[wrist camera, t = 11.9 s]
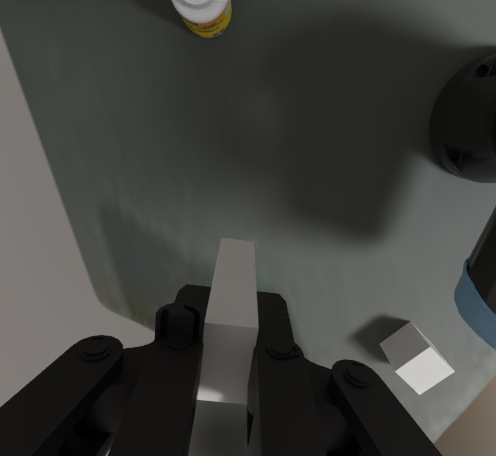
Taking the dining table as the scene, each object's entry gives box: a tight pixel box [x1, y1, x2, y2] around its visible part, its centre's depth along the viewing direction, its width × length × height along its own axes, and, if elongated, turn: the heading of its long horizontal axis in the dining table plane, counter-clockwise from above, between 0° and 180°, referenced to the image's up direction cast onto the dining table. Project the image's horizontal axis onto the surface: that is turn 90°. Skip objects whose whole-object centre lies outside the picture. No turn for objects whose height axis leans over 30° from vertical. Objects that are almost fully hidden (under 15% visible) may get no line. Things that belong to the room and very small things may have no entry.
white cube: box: [380, 321, 455, 395], centre depth 50 cm, size 6×6×6 cm
